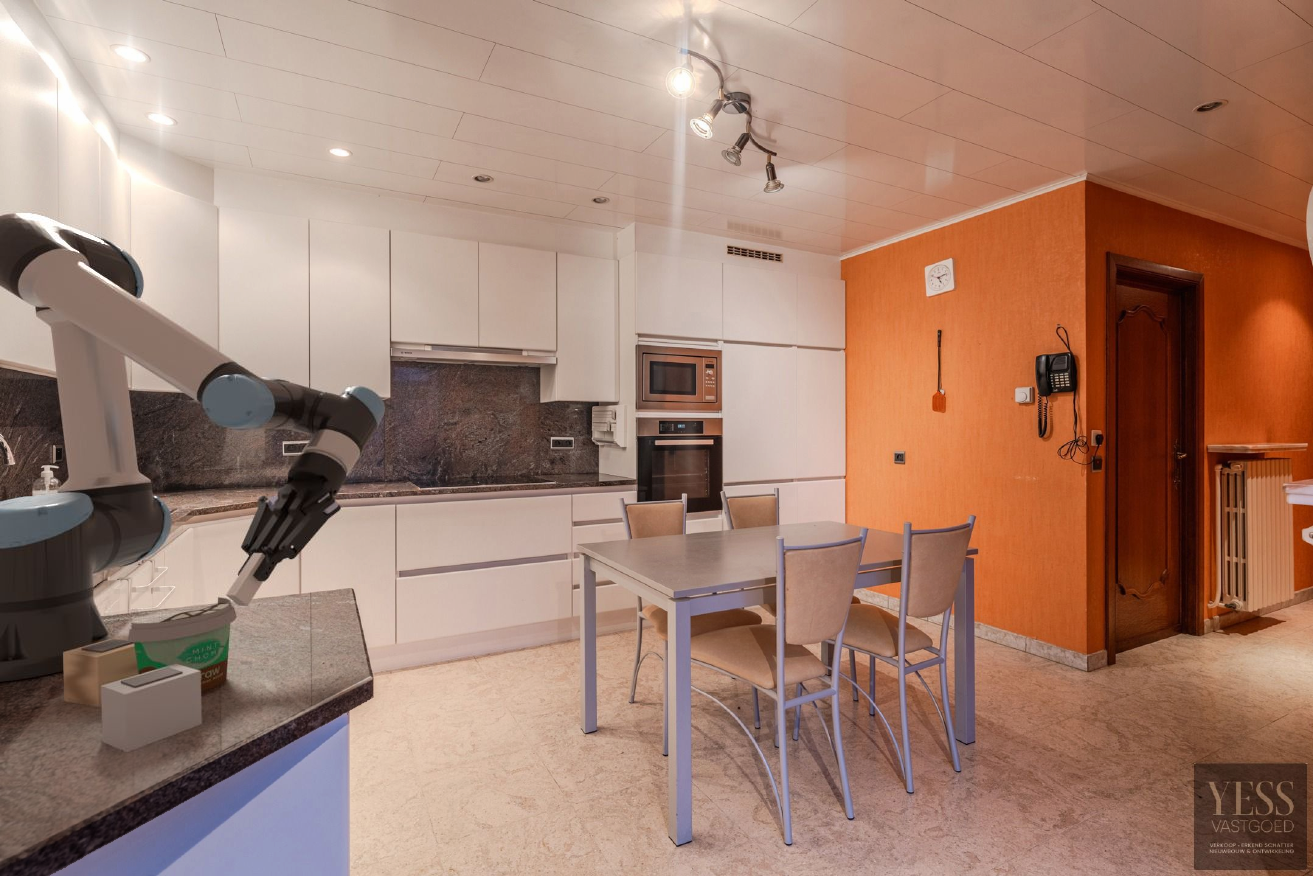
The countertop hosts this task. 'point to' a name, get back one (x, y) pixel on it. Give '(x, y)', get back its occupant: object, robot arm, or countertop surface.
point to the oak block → (97, 669)
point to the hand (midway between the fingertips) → (236, 600)
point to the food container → (188, 643)
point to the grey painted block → (150, 706)
